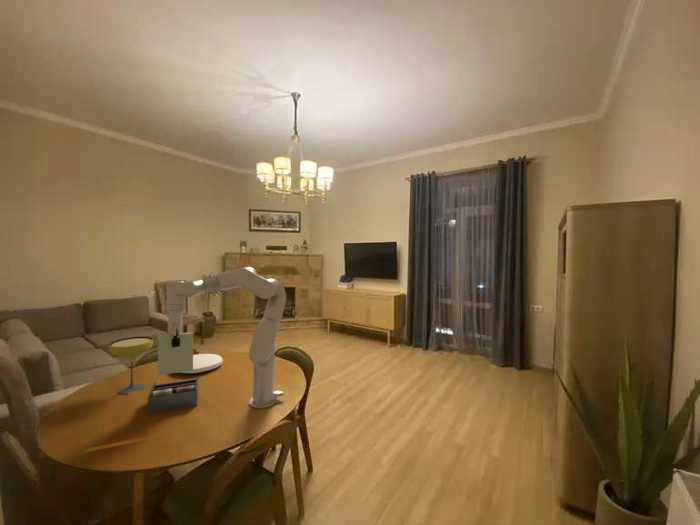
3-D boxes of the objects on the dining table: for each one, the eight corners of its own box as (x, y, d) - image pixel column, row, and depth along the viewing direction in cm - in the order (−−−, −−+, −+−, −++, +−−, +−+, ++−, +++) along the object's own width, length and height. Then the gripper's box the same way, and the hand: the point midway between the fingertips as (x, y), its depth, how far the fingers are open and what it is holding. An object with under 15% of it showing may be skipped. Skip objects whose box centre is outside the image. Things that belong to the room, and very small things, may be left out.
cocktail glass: (144, 395, 142) (145, 345, 141) (101, 400, 137) (101, 348, 136) (158, 380, 159) (158, 335, 159) (119, 383, 154) (119, 337, 154)
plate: (196, 350, 195) (231, 354, 189) (196, 360, 194) (231, 364, 189) (162, 361, 167) (202, 366, 162) (161, 372, 167) (201, 377, 161)
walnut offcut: (194, 401, 136) (194, 384, 136) (193, 404, 133) (193, 387, 133) (177, 404, 133) (177, 387, 133) (176, 407, 130) (176, 390, 130)
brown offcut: (172, 405, 132) (172, 388, 132) (171, 408, 129) (171, 391, 129) (153, 408, 129) (153, 390, 129) (152, 411, 126) (152, 393, 126)
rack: (198, 394, 145) (198, 376, 145) (197, 407, 132) (197, 388, 132) (153, 401, 137) (153, 383, 136) (147, 416, 124) (147, 396, 124)
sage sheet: (193, 369, 138) (193, 332, 138) (192, 370, 137) (192, 333, 136) (158, 373, 132) (158, 335, 132) (158, 375, 131) (157, 336, 130)
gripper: (169, 304, 139) (169, 342, 140) (164, 310, 125) (164, 352, 126) (186, 303, 142) (186, 340, 143) (183, 309, 128) (183, 350, 129)
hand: (176, 345), depth 134 cm, fingers closed on sage sheet, 1 cm apart
